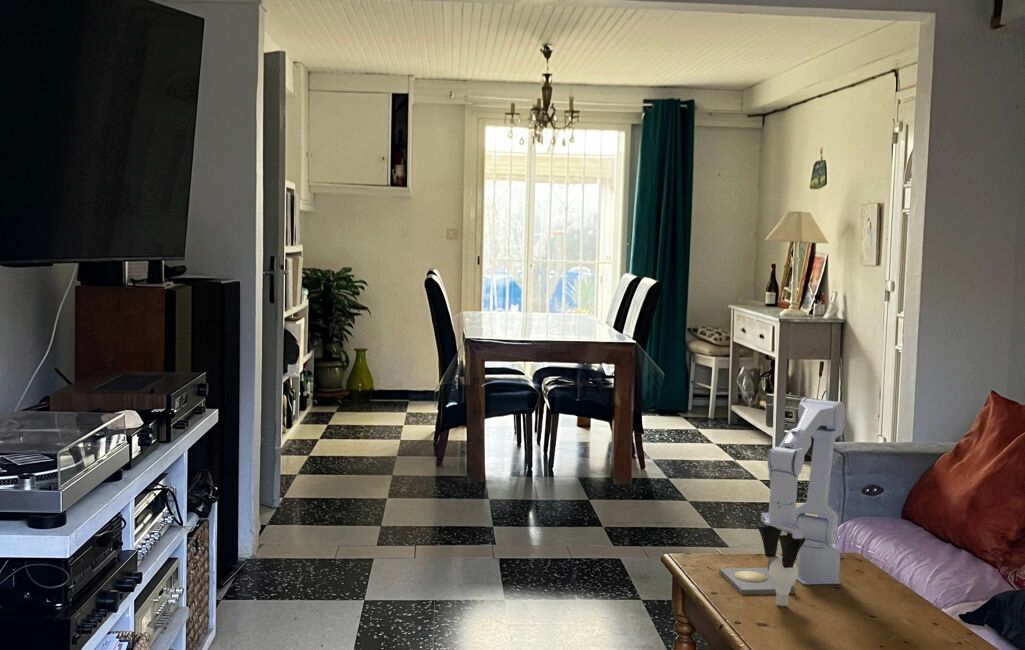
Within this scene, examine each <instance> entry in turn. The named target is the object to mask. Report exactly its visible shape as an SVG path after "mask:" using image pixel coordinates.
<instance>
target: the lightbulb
mask: <svg viewBox="0 0 1025 650" xmlns="http://www.w3.org/2000/svg"><path fill="white" fill-rule="evenodd" d="M769 575H770V578H771V580H772V582H773V583H774V586H775V591H776V594H775V595H776V596H775V604H776V605H778V606H779V607H782V608H783V607H786V606H788V605H789V595H790V594H789V593H790V590H791V587H792V586H793V587H794V585H795V583H796V582H797V581H798V580H797V578H798V568H797V563H796V562H795V563H794V566H793V568H784V567H783V563H782V558H777V559H775V560H774V561H773V562H772V563H771V565H770V567H769Z"/></svg>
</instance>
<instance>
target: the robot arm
mask: <svg viewBox="0 0 1025 650" xmlns="http://www.w3.org/2000/svg"><path fill="white" fill-rule="evenodd" d="M797 414H798V423H797V425H796V427H795V428H791V429H790V430H789V431H788V432H787V433H786V435H785V436H784V438H782V439H783V440H782V441H781V442H780V444H779V445H778V446H775V447H774V448H771V449H770V450H769V452H768V457H767V469H768V470H767V471H768V480H770V486H769V487H770V489H769V505H768V512H761V513H760V514H761V515H760V522H762V523H761V524H757V530H758V531H759V534H760V536H761V539H762V544H763V549H764V555H765V557H766V558H768V557H775V556H776V552H777V553H778V543H780V547H781V556H782V563H783V567H784V568H793V566H794V563H795V564H796V566H797V568H798V578H797V580H796V581H798V582H800V584H803V585H838V584H839V585H840V584H841V581H840V580H839V579H840V566H841V565H840V564H841V553H840V549H839V547H838V545H837V544H836V542H837V538H838V533H839V526H838V525H839V524H838V520H839V519H838V518H839V517H838V513H836V511H834V510H833V508H832V507H831V506H830V505H829V504H828V498H829V490H830V483H831V476H832V475H831V473H832V466H833V456H834V448H835V443H836V438H837V437H840V436H843V432H844V430H845V429H844V428H845V422H846V421H845V420H846V407H845V405H844V403H843V401H835V400H825V399H818V398H817V399H815V398H808V397H803V398H802V399H801V400H800V401H799V405H798V410H797ZM811 437H813V446H812V438H811ZM811 446H812V454H811V464H810V470H809V471H810V472H809V479H808V480H809V481H808V488H807V497H806V502H804V503H802V504H800V505H798V506H797V498H798V497H797V494H798V482H799V481H798V479H799V475H801V472H802V470H803V464H804V463H805V455H806V454H807V453H808V450H809V449H810V447H811ZM814 515H815V516H814ZM819 516H820V517H819ZM782 532H784V533H786V534H783V535H781V534H782ZM796 559H797V560H796Z"/></svg>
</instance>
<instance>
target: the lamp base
mask: <svg viewBox="0 0 1025 650" xmlns="http://www.w3.org/2000/svg"><path fill="white" fill-rule="evenodd" d="M777 558H782V554H779V553H778V551H777V552H776V556H775V557H767V567H737V568H736V567H733V568H730V567H729V568H727V567H726V568H718V574H719V573H720V574H721V575H722V576H723V577H724V579H725V581H726V582H728V584H729V585H731V586H732V588H734V587H735V588H734V589H735V591H737V592H738V593H739V594H740V593H741V594H740V595H741V596H746V595H745V594H750V596H751V595H752V594H760V595H765V594H764V593H775V594H774V595H776V591H775V586H774V583H773V582H772V580H771V578H770V575H769V567H770V565H771V563H772V562H773V561H774V560H775V559H777ZM720 574H719V575H720ZM721 575H720V576H721ZM722 576H721V577H722ZM723 577H722V578H723ZM790 593H795V594H796V588H795V587H794V585H793V586H792V587H791V590H790Z"/></svg>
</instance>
